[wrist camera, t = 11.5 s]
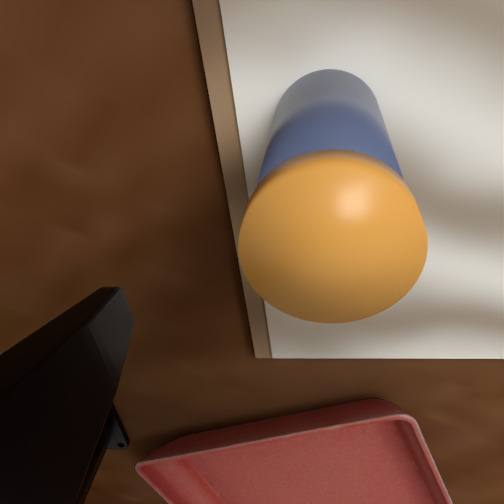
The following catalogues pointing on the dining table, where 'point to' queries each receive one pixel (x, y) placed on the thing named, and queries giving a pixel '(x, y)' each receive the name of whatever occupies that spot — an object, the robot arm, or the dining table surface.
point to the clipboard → (404, 144)
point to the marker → (331, 207)
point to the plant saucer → (302, 460)
